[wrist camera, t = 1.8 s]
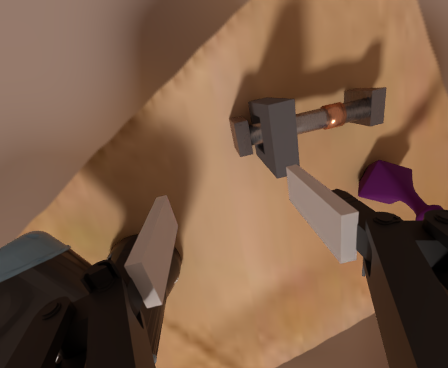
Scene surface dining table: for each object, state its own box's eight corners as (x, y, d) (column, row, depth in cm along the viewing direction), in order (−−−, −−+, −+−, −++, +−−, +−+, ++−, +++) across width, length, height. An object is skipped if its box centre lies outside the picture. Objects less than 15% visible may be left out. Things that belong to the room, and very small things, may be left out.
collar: (256, 154, 38) (277, 178, 27) (248, 101, 34) (268, 105, 23) (273, 150, 38) (300, 173, 27) (266, 97, 34) (294, 98, 23)
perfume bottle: (377, 196, 45) (479, 257, 28) (347, 189, 43) (435, 248, 27) (397, 164, 42) (523, 209, 25) (366, 154, 41) (477, 196, 24)
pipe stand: (234, 147, 38) (240, 157, 32) (229, 118, 36) (234, 123, 30) (354, 118, 38) (384, 123, 31) (355, 88, 36) (387, 87, 29)
